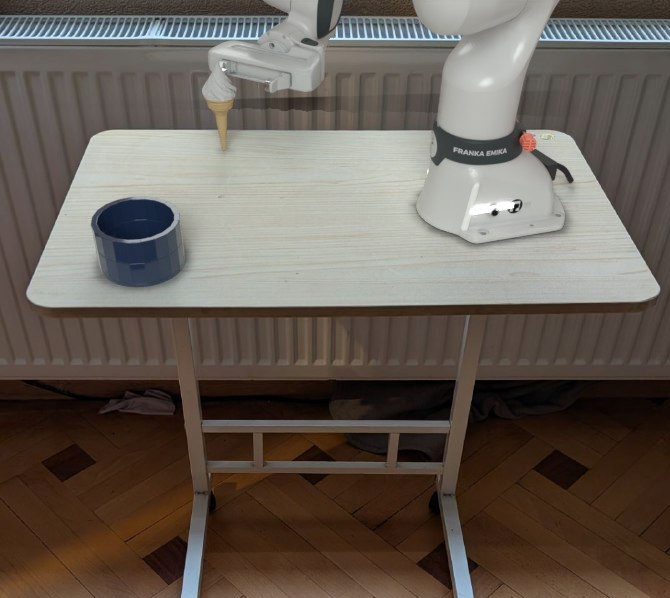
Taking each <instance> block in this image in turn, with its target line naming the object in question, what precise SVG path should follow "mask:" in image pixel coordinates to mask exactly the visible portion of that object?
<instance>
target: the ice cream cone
mask: <svg viewBox="0 0 670 598" xmlns="http://www.w3.org/2000/svg"><path fill="white" fill-rule="evenodd" d="M201 93H202V97H203V99H204V100H205V101H206V105H207V108H208V109H209V110H211V111H212V112H213V114H214V117H215V122H216V127H217V131H218V137H219V141H220V146H221V147H220V148H221V150H222V151H223V152H226V150H227V138H228V137H227V136H228V135H227V134H228V113H229V111H230V110H231V109H232V108H233V106H234V101H235V99H236V97H237V87H236V86H235V85H233V81H232V80H231V79H230V78H229V76H228V77H227V76H226V75H225V73H224V71H223V70H222V69H221V67H220V65H219V64H218V62H217V63H216V65H215V68H214V70H213V72H211V73H210V75H209V76H208V78H207V80H206V81H205V83H204V84H203V86H202V88H201Z"/></svg>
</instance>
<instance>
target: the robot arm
mask: <svg viewBox="0 0 670 598" xmlns="http://www.w3.org/2000/svg"><path fill="white" fill-rule="evenodd" d="M254 1H256V2H259V3H262V4H264V5H267V6H271V7H273V8H276V9H278V10H280V11H281V12H284V13H287V14H288V16H287V17H285V19H283V20H282V22H280V23H277V24H276V25H274V26H273V27H272V28H269V29H268V30H267V31H265V32H264V33H263V34H261V35H260V36H259V38H258V39H257V41H256V43H251V42H247V41H243V40H235V39H231V40H227V41H223V42H221V43H219V44H217V45H215V46H213V47H211V48H209V49H208V51H207V65H208V69H209V71H210V72H211V73H212V72H213V70H214V68H215V65H216V63H217V62H218V64H219V65H220V67H221V69H222V70H223V71H224V73H225V75H226V76H227V77H228V78H229V77H233V78H238V79H242V80H247V81H251V82H256V83H261V84H263V85H264V86H263V87H264V90H263V91H264V92H266V93H270V94H274V93H276V92H277V91H281V90H287V89H288V90H293V91H297V92H302V93H311V92H314V91H315V90H316V89H317V88H318V87H319V86H320V85H321V83H322V82H324V80H325V75H326V73H325V72H326V51H327V49H326V47H327V44H328V40H329V39H330V38H332V37H334V38H335V36H336V32H337V31H336V30H337V27H338V25H339V22H340V20H341V17H342V15H343V12H344V7H345V1H346V0H254ZM560 1H561V0H412V1H411V2H412V6H413V8H414V11H415V14H416V16H417V18H418V19H419V21H420V22H421V24H422V25H423V26H424V27H425V28H426V29H427V30H428V31H430V32H431V33H433V34H435V35H438V36H461V38H460V40H459V41H458V43H457V44H456V45H455V47H454V48H453V49H452V51H451V52H450V53H449V55H448V56H447V58H446V60H445V62H444V65H443V68H442V72H441V79H440V80H441V81H440V89H439V99H438V108H437V114H436V115H435V117H434V119H433V124H432V129H431V134H430V142H429V156H430V159H429V160H430V161H429V165H428V169H427V172H426V176H425V180H424V183H423V186H422V188H421V189H422V190H421V191H420V194H419V196H418V199H417V200H416V203H415V209H416V211H417V214H418V216H419V217H420V218H421V219H422V220H423V221H424V222H426V223H427V224H429V225H430V226H432V227H434V228H436V229H438V230H440V231H443V232H447V233H450V234H453V235H456V236H458V237H460V238H462V239H463V240H465V241H466V242H469V243H472V244H484V243H490V242H496V241H501V240H508V239H514V238H519V237H526V236H532V235H537V234H538V235H539V234H544V233H549V232H555V231H560V230H562V229H563V227H564V224H565V219H566V213H565V208H564V207H563V204H562V202H561V200H560V199H559V196H557V194H556V193H555V192H554V181H555V180H556V177H557V171H558V170H559V171H560V172H562V173H563V175H564V176H565V178H566V180H567V183H569V184H572V183H574V181H575V180H574V177H573V176H572V174H571V172H570V170H569V168H568V167H566V165H564V164H562V163H559V162H557V161H556V160H554V159H552V158H551V157H549V156H548V155H547V154H545V153H544V152H542V151H541V150H539V149H537V147H536V146H537V145H538V142H537V140H536V139H535V138H534V135H533V134H532V133H530V132H527V128H526V127H525V126H524V125H523V124H522V123H521V122H520V121H519V120H518V118H517V116H518V112H519V111H518V110H519V106H520V101H521V98H522V97H521V96H522V92H523V86H524V81H525V79H526V74H527V72H528V68H529V65H530V62H531V60H532V58H533V56H534V52H535V50H536V48H537V46H538V43H539V41H540V39H541V37H542V35H543V32H544V30H545V29H546V26H547V24H548V21H550V17H551V16H552V14H553V12H554V11H555V8H556V7H557V5H558V4H559V2H560Z"/></svg>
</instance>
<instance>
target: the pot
mask: <svg viewBox="0 0 670 598" xmlns="http://www.w3.org/2000/svg"><path fill="white" fill-rule="evenodd" d="M90 228H91V233H92V237H93V242H94V248H95V252H96V256H97V262H98V266H99V269H100V272H101V274H102V275H103V277H104V278H105V279H107V280H108V281H109V282H112V283H114V284H117V285H119V286H123V287H130V288H144V287H151V286H155V285H159V284H162V283H165V282H167V281H169V280H171V279H173V278H174V277H176V276H177V275H178V274H180V272H181V271H182V270H183V268H184V265H185V262H186V259H185V248H184V238H183V237H184V236H183V230H182V229H183V228H182V220H181V213H180V211H179V210H178V207H177V206H176V205H174V204H172V203H171V202H169V201H168V200H165V199H161V198H159V197H153V196H145V195H142V196H140V195H139V196H128V197H124V198H119V199H115V200H113V201H111V202H108V203H106V204H104V205H102V206H101V207H100V208H98V209H97V210H96V211H95V212H94V214H93V215H92V217H91V222H90Z"/></svg>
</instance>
